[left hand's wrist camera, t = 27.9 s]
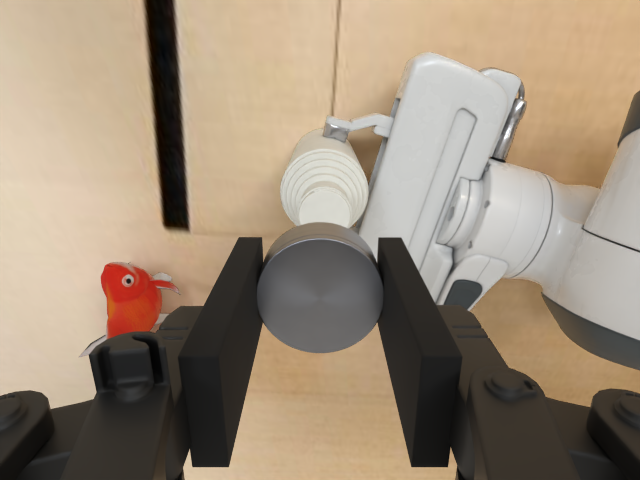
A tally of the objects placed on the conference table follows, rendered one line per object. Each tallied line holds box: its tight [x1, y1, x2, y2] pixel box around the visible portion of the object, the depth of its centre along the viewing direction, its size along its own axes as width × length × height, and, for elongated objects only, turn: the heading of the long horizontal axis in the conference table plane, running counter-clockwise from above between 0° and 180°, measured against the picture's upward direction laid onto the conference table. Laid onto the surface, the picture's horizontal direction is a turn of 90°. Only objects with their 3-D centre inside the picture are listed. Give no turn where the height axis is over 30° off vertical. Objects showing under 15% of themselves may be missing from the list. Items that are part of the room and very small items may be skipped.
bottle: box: [280, 128, 369, 228], centre depth 31 cm, size 6×6×18 cm
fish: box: [79, 262, 181, 357], centre depth 41 cm, size 11×16×10 cm
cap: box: [257, 222, 384, 353], centre depth 14 cm, size 4×4×2 cm
